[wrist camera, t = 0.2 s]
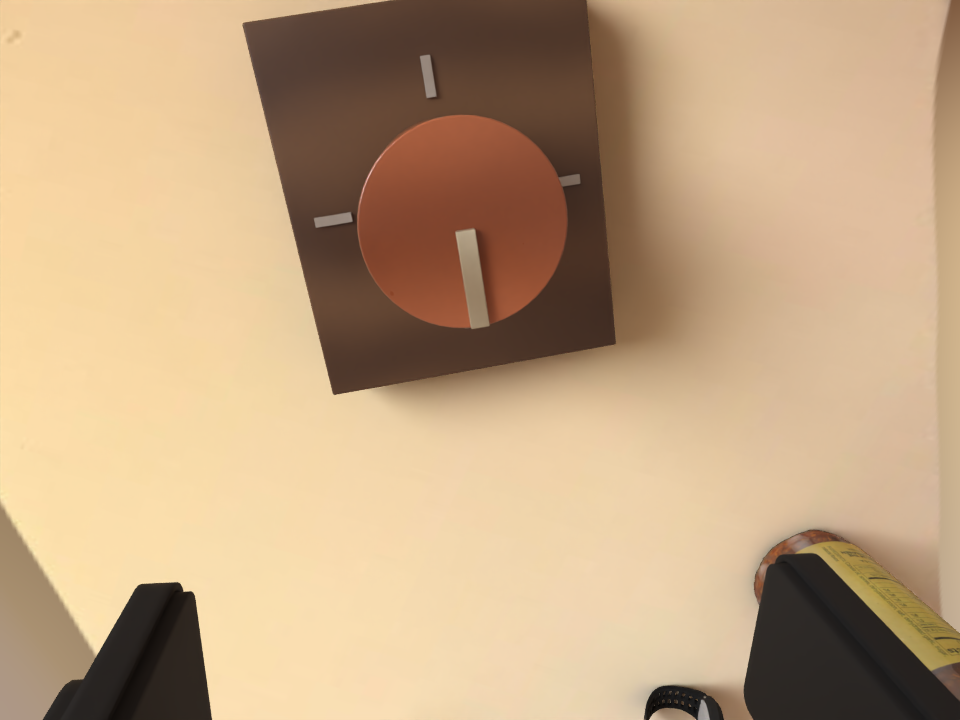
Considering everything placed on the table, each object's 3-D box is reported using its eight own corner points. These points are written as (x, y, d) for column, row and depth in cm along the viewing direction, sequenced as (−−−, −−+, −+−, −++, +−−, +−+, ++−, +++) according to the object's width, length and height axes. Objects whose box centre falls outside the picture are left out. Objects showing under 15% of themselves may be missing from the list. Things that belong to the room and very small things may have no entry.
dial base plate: (259, 33, 26) (240, 21, 23) (565, -14, 27) (585, -31, 24) (339, 370, 31) (332, 397, 28) (597, 324, 31) (617, 345, 28)
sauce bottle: (785, 636, 39) (1139, 1111, 20) (726, 572, 37) (1058, 1032, 18) (880, 567, 38) (1343, 997, 19) (825, 497, 36) (1282, 901, 17)
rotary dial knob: (353, 130, 25) (334, 133, 18) (515, 104, 25) (558, 97, 18) (386, 290, 27) (380, 348, 20) (535, 264, 27) (580, 312, 20)
